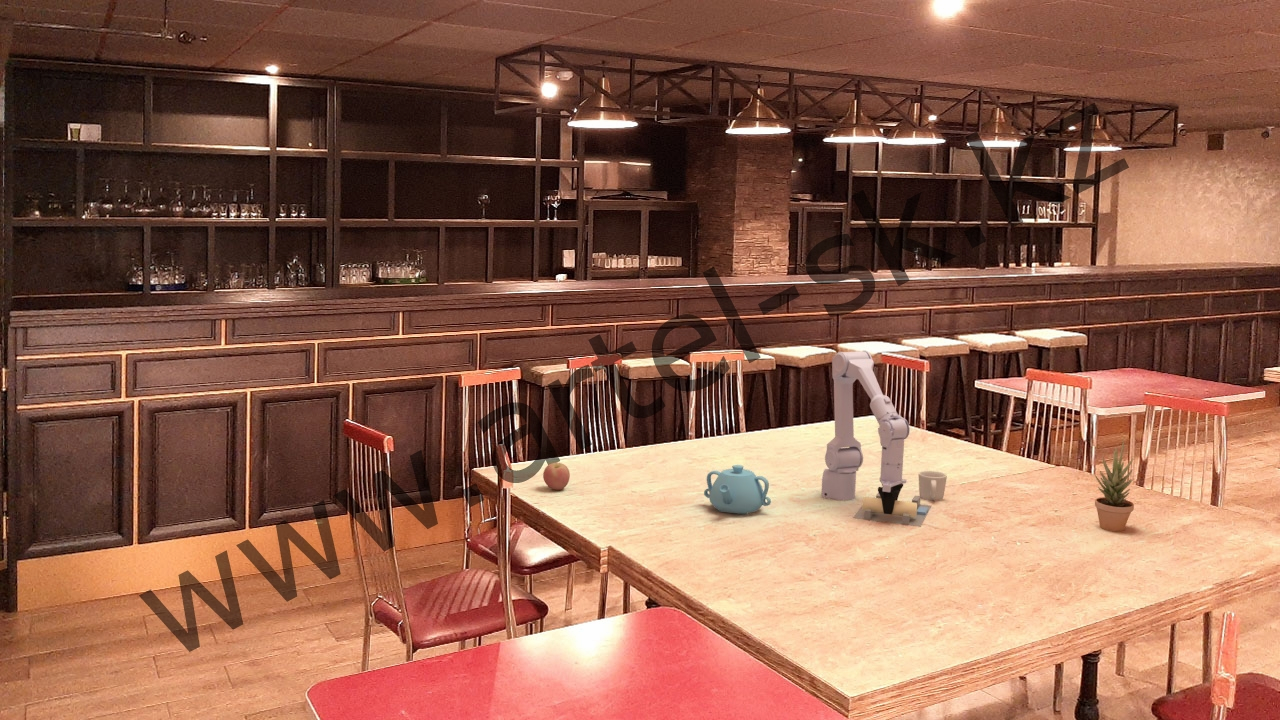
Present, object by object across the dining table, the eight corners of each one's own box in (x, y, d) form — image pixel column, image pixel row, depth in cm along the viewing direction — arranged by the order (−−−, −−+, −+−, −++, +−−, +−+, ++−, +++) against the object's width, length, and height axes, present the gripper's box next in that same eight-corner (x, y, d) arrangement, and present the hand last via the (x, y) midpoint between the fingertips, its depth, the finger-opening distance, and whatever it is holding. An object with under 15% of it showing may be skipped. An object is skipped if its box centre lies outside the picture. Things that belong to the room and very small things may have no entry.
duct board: (852, 521, 279) (852, 509, 278) (867, 501, 299) (868, 490, 298) (920, 530, 272) (921, 517, 271) (931, 509, 292) (932, 497, 291)
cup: (947, 507, 293) (948, 480, 292) (918, 505, 295) (920, 478, 294) (944, 498, 304) (945, 471, 303) (916, 496, 305) (917, 469, 304)
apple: (538, 491, 305) (538, 464, 303) (550, 485, 312) (550, 459, 310) (562, 494, 302) (562, 467, 301) (574, 488, 309) (574, 462, 308)
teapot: (778, 507, 291) (780, 464, 289) (756, 526, 273) (757, 479, 272) (713, 498, 299) (714, 456, 298) (687, 516, 281) (688, 471, 280)
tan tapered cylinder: (862, 512, 280) (862, 498, 280) (864, 509, 284) (865, 494, 283) (914, 519, 275) (915, 505, 274) (916, 515, 279) (917, 501, 278)
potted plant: (1115, 535, 270) (1123, 443, 266) (1085, 525, 278) (1092, 436, 275) (1141, 530, 274) (1148, 439, 271) (1110, 521, 283) (1117, 433, 279)
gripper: (902, 470, 269) (900, 520, 271) (911, 458, 283) (908, 506, 284) (875, 467, 272) (873, 517, 274) (885, 455, 285) (882, 503, 287)
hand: (889, 511), depth 279 cm, fingers closed on tan tapered cylinder, 4 cm apart
